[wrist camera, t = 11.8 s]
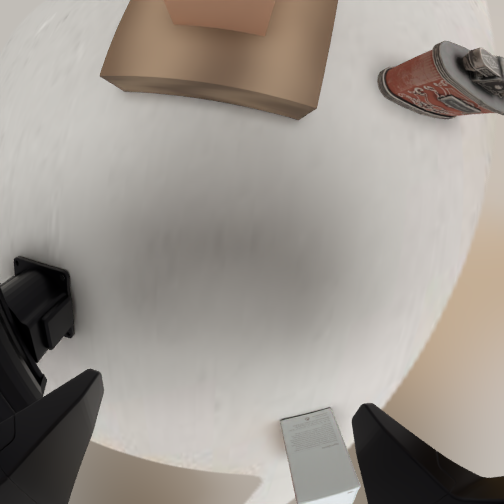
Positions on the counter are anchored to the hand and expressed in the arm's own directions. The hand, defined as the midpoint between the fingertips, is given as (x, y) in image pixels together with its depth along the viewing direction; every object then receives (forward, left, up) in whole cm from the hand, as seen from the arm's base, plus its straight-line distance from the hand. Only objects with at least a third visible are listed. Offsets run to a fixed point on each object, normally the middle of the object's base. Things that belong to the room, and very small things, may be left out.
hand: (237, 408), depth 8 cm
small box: (+12, -18, -12) cm, 25 cm away
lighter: (+11, +17, -12) cm, 24 cm away
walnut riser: (-4, +17, -12) cm, 21 cm away
